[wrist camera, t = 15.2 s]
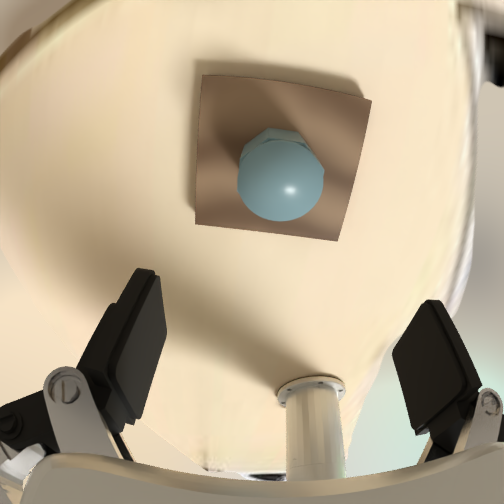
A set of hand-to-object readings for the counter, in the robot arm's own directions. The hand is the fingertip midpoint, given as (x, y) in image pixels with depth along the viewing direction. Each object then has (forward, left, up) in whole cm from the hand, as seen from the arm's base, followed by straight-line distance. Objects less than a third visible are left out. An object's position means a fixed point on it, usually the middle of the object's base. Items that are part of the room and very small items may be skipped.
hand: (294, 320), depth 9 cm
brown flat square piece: (0, 0, -19) cm, 19 cm away
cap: (0, 0, -17) cm, 17 cm away
